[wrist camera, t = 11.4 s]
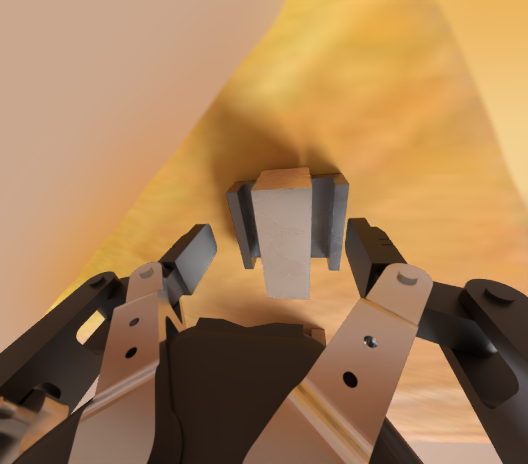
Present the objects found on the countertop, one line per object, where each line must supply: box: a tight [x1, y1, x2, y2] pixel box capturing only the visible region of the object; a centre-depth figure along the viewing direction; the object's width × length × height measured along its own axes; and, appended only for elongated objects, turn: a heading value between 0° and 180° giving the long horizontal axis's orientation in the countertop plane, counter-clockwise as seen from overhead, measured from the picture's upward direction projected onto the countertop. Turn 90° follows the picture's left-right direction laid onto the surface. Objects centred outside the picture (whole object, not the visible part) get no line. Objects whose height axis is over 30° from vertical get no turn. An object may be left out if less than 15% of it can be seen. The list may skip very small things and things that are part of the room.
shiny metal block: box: [251, 167, 312, 300], centre depth 17 cm, size 11×4×5 cm, turn 7°
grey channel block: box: [226, 173, 349, 270], centre depth 19 cm, size 9×10×3 cm
